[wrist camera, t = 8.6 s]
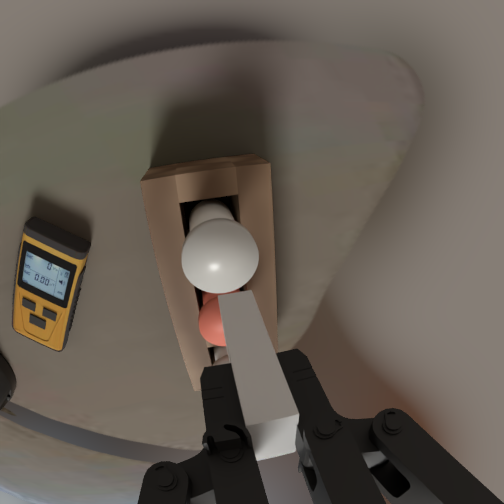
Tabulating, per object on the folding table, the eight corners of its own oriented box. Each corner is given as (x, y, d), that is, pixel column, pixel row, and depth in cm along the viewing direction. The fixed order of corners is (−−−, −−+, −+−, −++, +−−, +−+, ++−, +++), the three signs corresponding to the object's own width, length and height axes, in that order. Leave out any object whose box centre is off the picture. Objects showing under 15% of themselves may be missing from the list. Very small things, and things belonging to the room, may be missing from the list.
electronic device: (17, 316, 30) (8, 331, 27) (32, 212, 25) (18, 223, 22) (69, 340, 33) (63, 358, 30) (96, 242, 29) (87, 257, 26)
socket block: (191, 356, 37) (194, 390, 32) (149, 168, 26) (140, 181, 21) (266, 342, 39) (278, 375, 33) (253, 153, 28) (270, 163, 22)
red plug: (198, 301, 32) (204, 350, 25) (191, 262, 29) (194, 306, 23) (242, 294, 32) (258, 340, 26) (238, 255, 30) (254, 296, 24)
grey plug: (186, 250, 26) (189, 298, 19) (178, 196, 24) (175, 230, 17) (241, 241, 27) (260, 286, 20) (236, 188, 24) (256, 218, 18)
